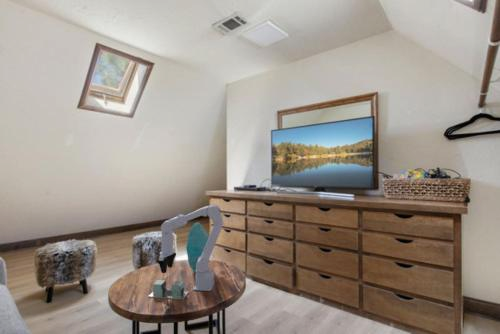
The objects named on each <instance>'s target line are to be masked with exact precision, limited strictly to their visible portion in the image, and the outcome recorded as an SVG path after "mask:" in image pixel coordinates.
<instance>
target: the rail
mask: <svg viewBox="0 0 500 334" xmlns="http://www.w3.org/2000/svg"><path fill="white" fill-rule="evenodd" d="M189 292H190V291H188V290H187V291H185V281H183V280H176V281H174V283H172V284H171V288H166V289H163V295H162V296H155V295H153V291H152V292H151V293H150V294H149V295H148V296H147V298H157V299H175V300H184V299H186V297H187V296H188V295H189Z"/></svg>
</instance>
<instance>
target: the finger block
mask: <svg viewBox="0 0 500 334" xmlns="http://www.w3.org/2000/svg"><path fill="white" fill-rule="evenodd" d="M163 289H167V280H165V279H164V280H163V279H157V280H156V281H155V282H154V283H153V284H152V292H153V295H155V296H162V295H163Z"/></svg>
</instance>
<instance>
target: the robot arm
mask: <svg viewBox="0 0 500 334" xmlns="http://www.w3.org/2000/svg"><path fill="white" fill-rule="evenodd" d="M176 215H177V216H175V217H171V218H169V219H168V220H165V221H164V222H162V224H161V225H160V231H161V246H160V247H161V249H160V250H161V251H160V252H159V257H158V258H157V260H156V261H157V263H158V265H159V269H160V271H161V274H166V273H167V270H168V269H167V268H173V265H174V261H175V258H176V255H177V253H176V252H175V248H174V234H173V232H174V230H176V229H179V228H181V227H184V226H185V225H187V223H188V222H189V221H191V220H194V219H196V218H199V217H201V216H202V217H208V218H210V220H211V221H212V223H213V226H212V228H211V231H210V233H209V235H208V240H207V243H206V245H205V248H204V250H203V252H202V255H201V256H200V257H199V258H198V260H197V264H196V272H195V286H194V287H193V288H192V291H203V292H204V291H205V292H210V291H212V290H213V288H214V286H215V271H214V270H210V267H209V264H210V259H211V255H212V253H213V251H214V249H215V247H216V244H217V241H218V238H219V235H220V233H221V231H222V229H223V226H224V220H223V214H222V211H221V208H220V207H219V206H218V204H215V203H212V204H210V205H206V206H203V207H201V208H198V209H196V210H195V211H194V210H193V212H190V213H188V214H186V215H185V214H183V213H182V214H181V213H180V214H176Z"/></svg>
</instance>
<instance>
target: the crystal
mask: <svg viewBox="0 0 500 334" xmlns="http://www.w3.org/2000/svg"><path fill="white" fill-rule="evenodd" d="M208 238H209V234H208V233H207V231H206V230H205V228H204V227H203V225H202V224H201V222H195V223H193V224H192V227H191V228H190V230H189V233H188V235H187V241H186V246H185V247H186V248H185V249H186V254H187V259H188V260H187V262H188V265H189V267H190V268H191V269H192V271H193V272H194V273H196V264H197V260H198V258H199V257H200V256H201V255H202V252H203V250H204V248H205V245H206V243H207V240H208Z"/></svg>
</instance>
